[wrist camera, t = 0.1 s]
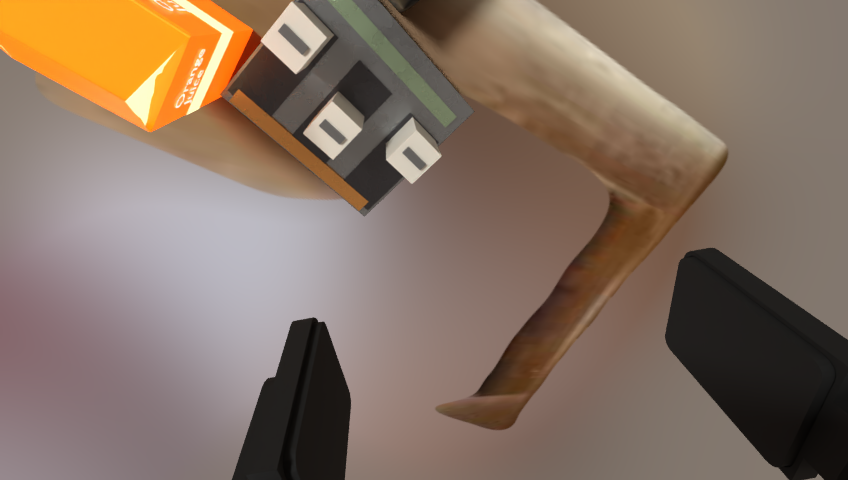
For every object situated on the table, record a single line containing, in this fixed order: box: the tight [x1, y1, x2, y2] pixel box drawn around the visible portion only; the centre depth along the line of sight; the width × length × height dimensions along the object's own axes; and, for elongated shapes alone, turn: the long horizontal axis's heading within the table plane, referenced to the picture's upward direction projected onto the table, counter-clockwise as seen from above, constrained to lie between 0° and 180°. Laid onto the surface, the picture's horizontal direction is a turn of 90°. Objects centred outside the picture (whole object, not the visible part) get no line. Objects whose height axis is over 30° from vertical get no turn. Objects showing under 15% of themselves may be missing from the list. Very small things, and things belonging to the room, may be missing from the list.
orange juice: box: [0, 0, 253, 132], centre depth 30 cm, size 8×9×20 cm
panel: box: [220, 0, 474, 216], centre depth 42 cm, size 19×17×2 cm
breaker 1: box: [261, 2, 334, 74], centre depth 35 cm, size 4×4×6 cm
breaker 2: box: [386, 117, 442, 184], centre depth 41 cm, size 4×4×6 cm
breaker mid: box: [303, 91, 364, 160], centre depth 39 cm, size 4×4×6 cm
